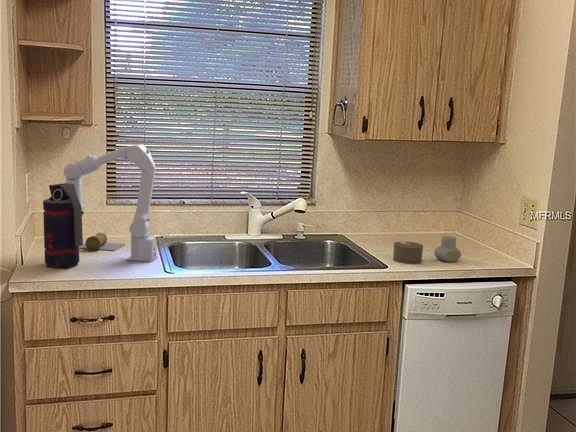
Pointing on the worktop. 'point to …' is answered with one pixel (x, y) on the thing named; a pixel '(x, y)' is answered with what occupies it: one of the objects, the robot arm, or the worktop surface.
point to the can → (408, 252)
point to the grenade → (62, 226)
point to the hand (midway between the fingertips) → (74, 229)
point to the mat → (106, 246)
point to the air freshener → (447, 250)
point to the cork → (96, 241)
